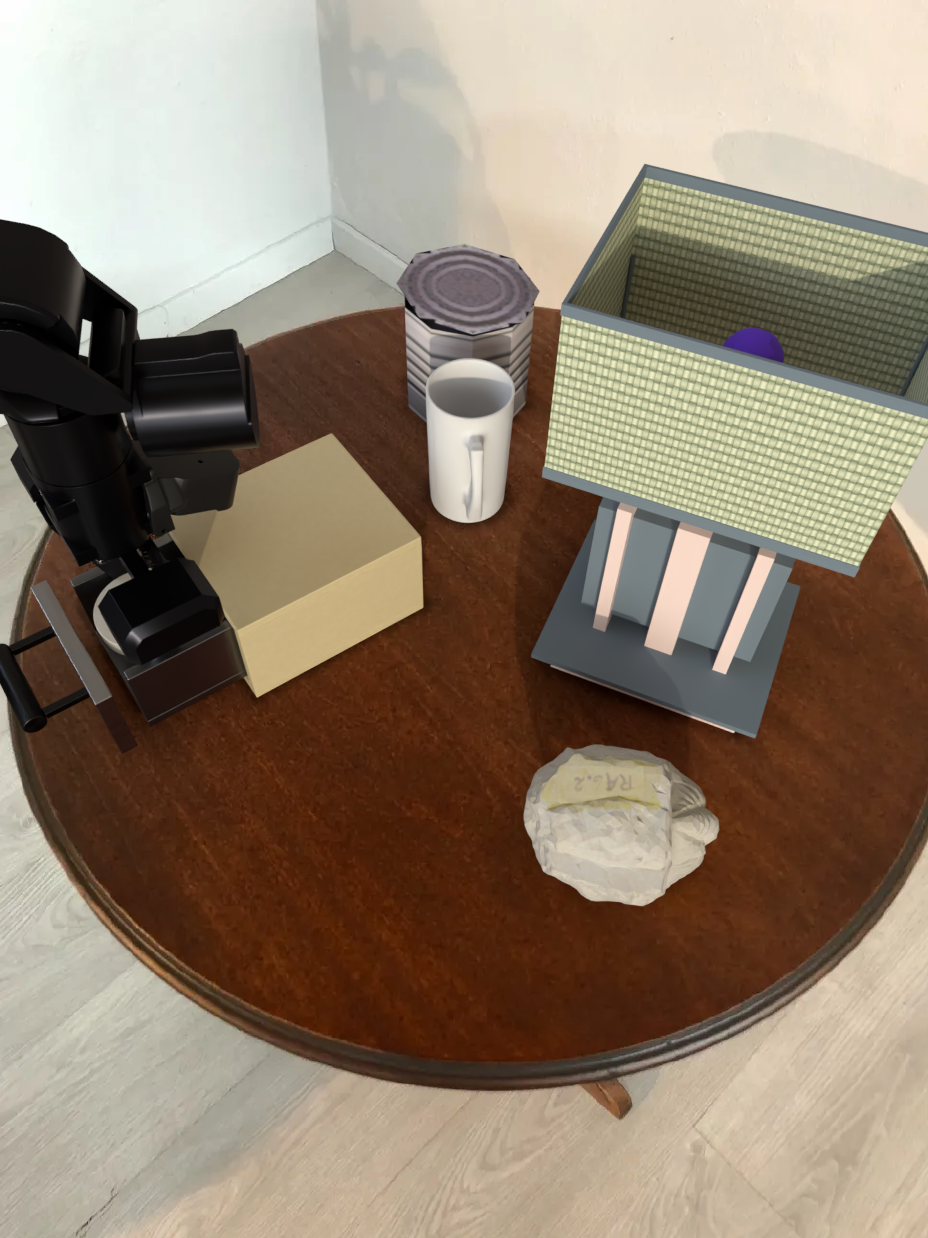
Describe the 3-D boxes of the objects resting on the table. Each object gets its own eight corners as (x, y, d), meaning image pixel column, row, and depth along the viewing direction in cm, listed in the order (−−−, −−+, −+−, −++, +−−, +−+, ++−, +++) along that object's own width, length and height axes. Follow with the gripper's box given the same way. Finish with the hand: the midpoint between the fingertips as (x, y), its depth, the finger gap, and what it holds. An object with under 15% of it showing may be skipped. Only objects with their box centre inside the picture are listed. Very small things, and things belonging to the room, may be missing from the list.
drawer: (58, 788, 69) (25, 740, 63) (-1, 671, 74) (-37, 617, 69) (293, 663, 75) (281, 609, 69) (222, 562, 80) (206, 505, 75)
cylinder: (124, 678, 68) (117, 664, 67) (84, 611, 72) (77, 595, 70) (215, 632, 71) (210, 617, 69) (173, 568, 74) (167, 553, 72)
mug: (425, 468, 88) (422, 359, 78) (502, 464, 88) (509, 355, 78) (433, 559, 82) (431, 454, 72) (515, 554, 82) (525, 449, 73)
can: (423, 342, 97) (421, 231, 88) (539, 363, 96) (550, 253, 86) (388, 422, 91) (382, 312, 81) (512, 447, 89) (520, 337, 80)
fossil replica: (729, 887, 67) (653, 767, 73) (764, 822, 60) (678, 697, 66) (565, 952, 63) (499, 820, 69) (585, 890, 57) (511, 751, 63)
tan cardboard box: (257, 697, 74) (237, 631, 67) (181, 584, 80) (156, 511, 73) (423, 607, 79) (421, 536, 72) (341, 507, 85) (331, 432, 78)
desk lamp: (519, 668, 76) (559, 307, 49) (581, 536, 84) (645, 161, 57) (758, 756, 72) (943, 415, 45) (801, 608, 80) (981, 242, 53)
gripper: (284, 493, 56) (314, 650, 69) (142, 312, 65) (191, 481, 77) (92, 583, 52) (161, 731, 65) (-31, 378, 61) (51, 544, 73)
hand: (145, 611), depth 70 cm, fingers closed on cylinder, 7 cm apart
